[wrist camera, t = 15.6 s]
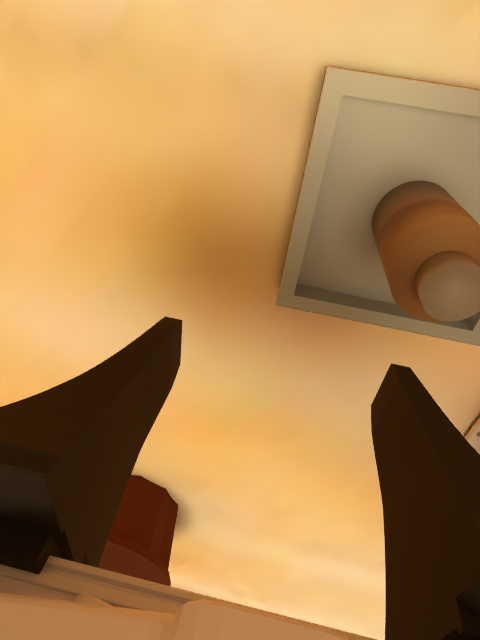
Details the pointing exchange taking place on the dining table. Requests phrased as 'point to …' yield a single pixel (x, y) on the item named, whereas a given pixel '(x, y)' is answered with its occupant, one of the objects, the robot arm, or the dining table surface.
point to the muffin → (142, 533)
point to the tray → (376, 191)
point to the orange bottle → (429, 252)
